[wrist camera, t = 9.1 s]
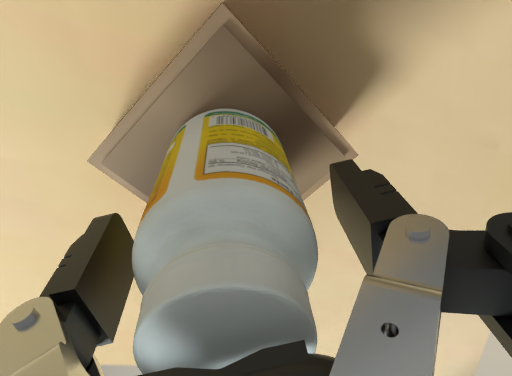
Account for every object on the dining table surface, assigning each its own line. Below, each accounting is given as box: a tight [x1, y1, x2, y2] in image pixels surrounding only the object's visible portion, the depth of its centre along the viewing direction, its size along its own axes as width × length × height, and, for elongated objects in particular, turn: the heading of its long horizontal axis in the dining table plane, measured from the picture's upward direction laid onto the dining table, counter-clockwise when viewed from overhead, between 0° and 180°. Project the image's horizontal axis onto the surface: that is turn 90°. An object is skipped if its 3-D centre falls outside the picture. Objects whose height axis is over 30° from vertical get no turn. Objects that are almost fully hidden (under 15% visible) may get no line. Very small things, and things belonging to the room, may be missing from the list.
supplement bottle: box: [132, 109, 318, 374], centre depth 11 cm, size 5×5×10 cm
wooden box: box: [87, 2, 358, 203], centre depth 17 cm, size 9×9×4 cm
